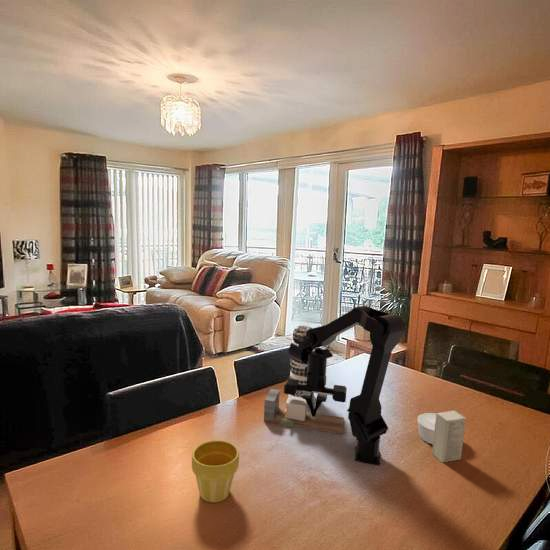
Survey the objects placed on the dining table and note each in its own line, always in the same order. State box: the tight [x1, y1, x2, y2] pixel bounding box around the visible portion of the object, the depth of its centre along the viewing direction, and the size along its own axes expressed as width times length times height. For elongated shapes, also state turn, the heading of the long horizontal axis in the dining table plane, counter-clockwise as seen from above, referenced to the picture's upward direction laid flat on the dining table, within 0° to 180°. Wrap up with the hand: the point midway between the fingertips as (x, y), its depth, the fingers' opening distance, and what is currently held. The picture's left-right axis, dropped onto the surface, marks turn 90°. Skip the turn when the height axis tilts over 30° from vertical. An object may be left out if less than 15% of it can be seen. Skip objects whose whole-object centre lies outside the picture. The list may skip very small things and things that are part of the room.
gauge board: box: [263, 388, 345, 435], centre depth 118 cm, size 9×24×7 cm, turn 77°
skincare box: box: [431, 410, 467, 463], centre depth 103 cm, size 6×4×12 cm
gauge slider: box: [284, 396, 308, 421], centre depth 117 cm, size 8×6×5 cm
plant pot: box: [191, 439, 240, 504], centre depth 86 cm, size 10×10×10 cm
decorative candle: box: [287, 325, 312, 398], centre depth 134 cm, size 9×9×25 cm
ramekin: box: [416, 412, 437, 446], centre depth 112 cm, size 11×11×5 cm
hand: (313, 416), depth 118 cm, fingers closed
